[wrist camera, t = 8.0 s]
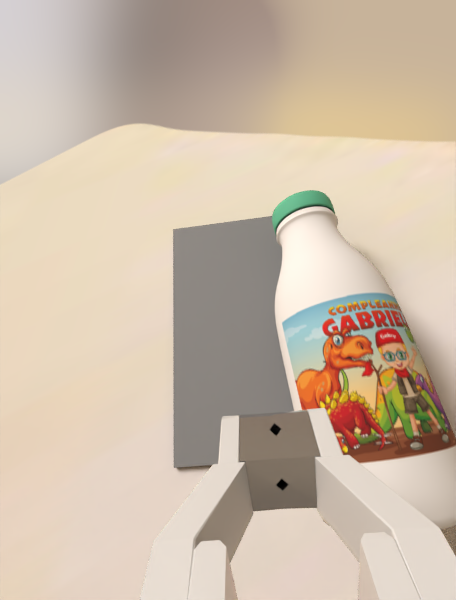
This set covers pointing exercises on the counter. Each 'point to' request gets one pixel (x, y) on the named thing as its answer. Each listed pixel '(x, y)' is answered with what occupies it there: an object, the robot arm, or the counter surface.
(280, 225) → the milk bottle
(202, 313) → the mat
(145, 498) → the counter surface
